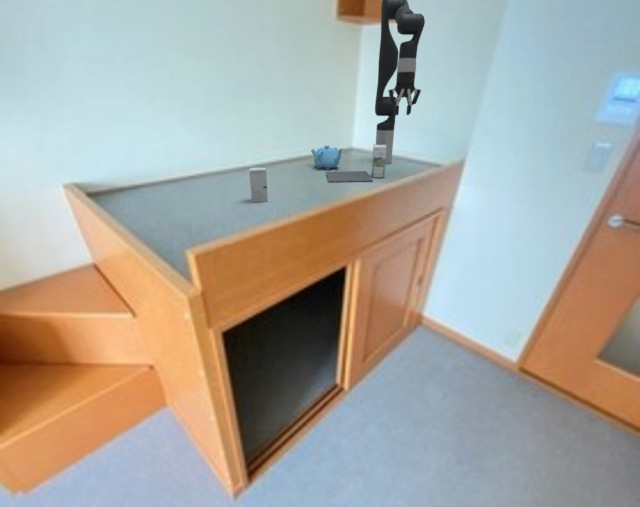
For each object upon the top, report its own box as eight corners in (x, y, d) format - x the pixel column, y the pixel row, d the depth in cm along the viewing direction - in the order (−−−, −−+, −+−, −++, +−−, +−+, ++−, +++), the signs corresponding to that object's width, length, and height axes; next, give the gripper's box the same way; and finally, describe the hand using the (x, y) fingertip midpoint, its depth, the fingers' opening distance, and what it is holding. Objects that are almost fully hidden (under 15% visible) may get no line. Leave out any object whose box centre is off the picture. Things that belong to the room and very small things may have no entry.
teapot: (339, 164, 189) (339, 142, 184) (343, 170, 177) (343, 147, 172) (311, 165, 188) (310, 143, 183) (313, 171, 176) (312, 148, 171)
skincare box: (252, 202, 132) (249, 170, 126) (251, 199, 135) (248, 167, 130) (268, 201, 133) (266, 169, 127) (267, 197, 137) (265, 166, 131)
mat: (325, 172, 173) (325, 171, 172) (366, 172, 173) (366, 171, 173) (328, 182, 156) (328, 181, 156) (372, 181, 157) (372, 180, 157)
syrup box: (383, 175, 168) (385, 144, 161) (384, 178, 163) (386, 146, 156) (371, 175, 168) (373, 143, 162) (371, 178, 163) (373, 146, 157)
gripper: (420, 71, 150) (415, 114, 157) (387, 71, 149) (384, 114, 157) (426, 70, 143) (420, 115, 151) (391, 70, 142) (388, 115, 150)
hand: (402, 114), depth 154 cm, fingers open, 4 cm apart
